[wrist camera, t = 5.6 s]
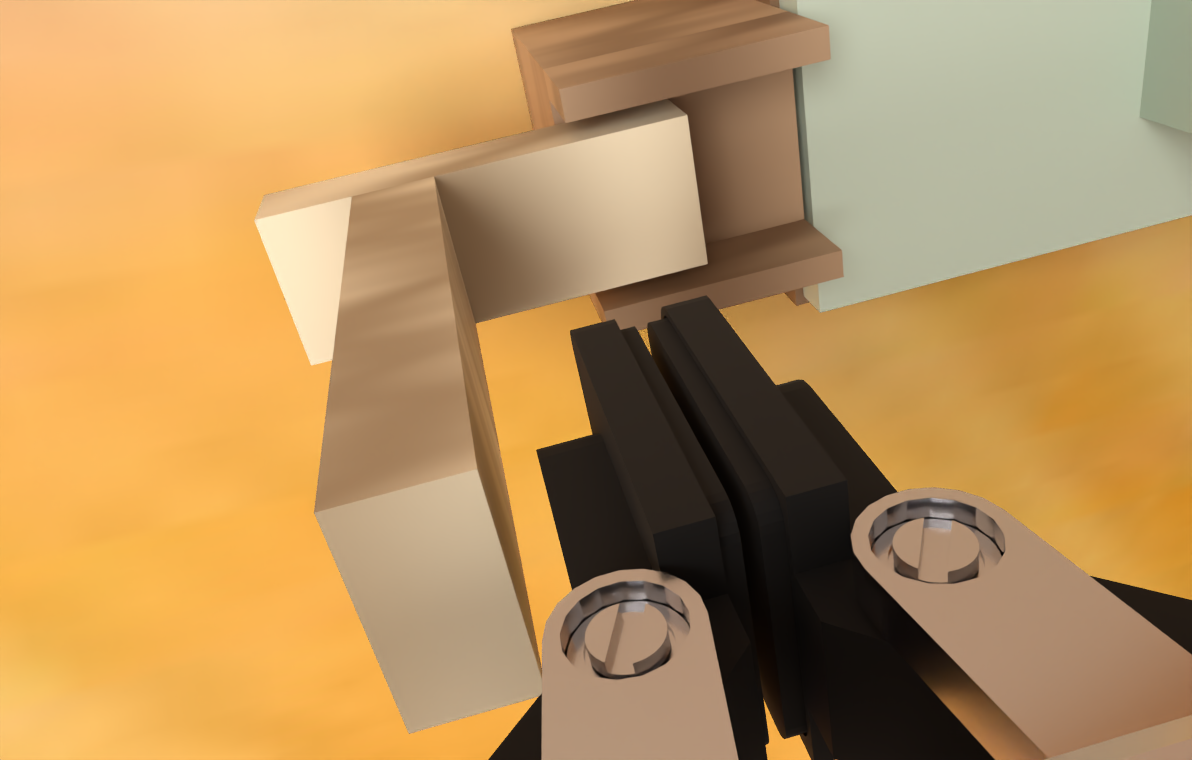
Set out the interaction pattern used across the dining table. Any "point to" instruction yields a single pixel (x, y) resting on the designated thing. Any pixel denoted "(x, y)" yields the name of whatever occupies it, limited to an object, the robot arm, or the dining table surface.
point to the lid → (988, 132)
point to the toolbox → (699, 132)
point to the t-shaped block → (458, 368)
